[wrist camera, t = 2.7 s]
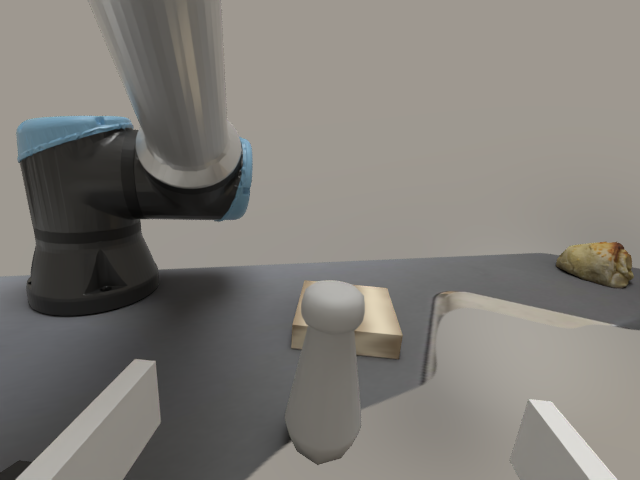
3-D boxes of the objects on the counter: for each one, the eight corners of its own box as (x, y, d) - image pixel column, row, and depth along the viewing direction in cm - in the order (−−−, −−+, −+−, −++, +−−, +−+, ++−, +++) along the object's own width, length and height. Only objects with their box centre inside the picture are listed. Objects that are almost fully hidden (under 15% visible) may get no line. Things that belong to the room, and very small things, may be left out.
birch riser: (291, 348, 35) (292, 324, 34) (303, 298, 47) (304, 280, 46) (398, 359, 35) (402, 335, 34) (384, 306, 46) (386, 288, 46)
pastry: (645, 294, 59) (662, 254, 57) (566, 280, 63) (578, 242, 61) (611, 270, 71) (623, 236, 69) (547, 259, 76) (556, 227, 73)
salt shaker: (331, 400, 28) (344, 266, 25) (373, 452, 24) (398, 297, 20) (271, 426, 25) (276, 278, 22) (306, 491, 21) (321, 318, 17)
